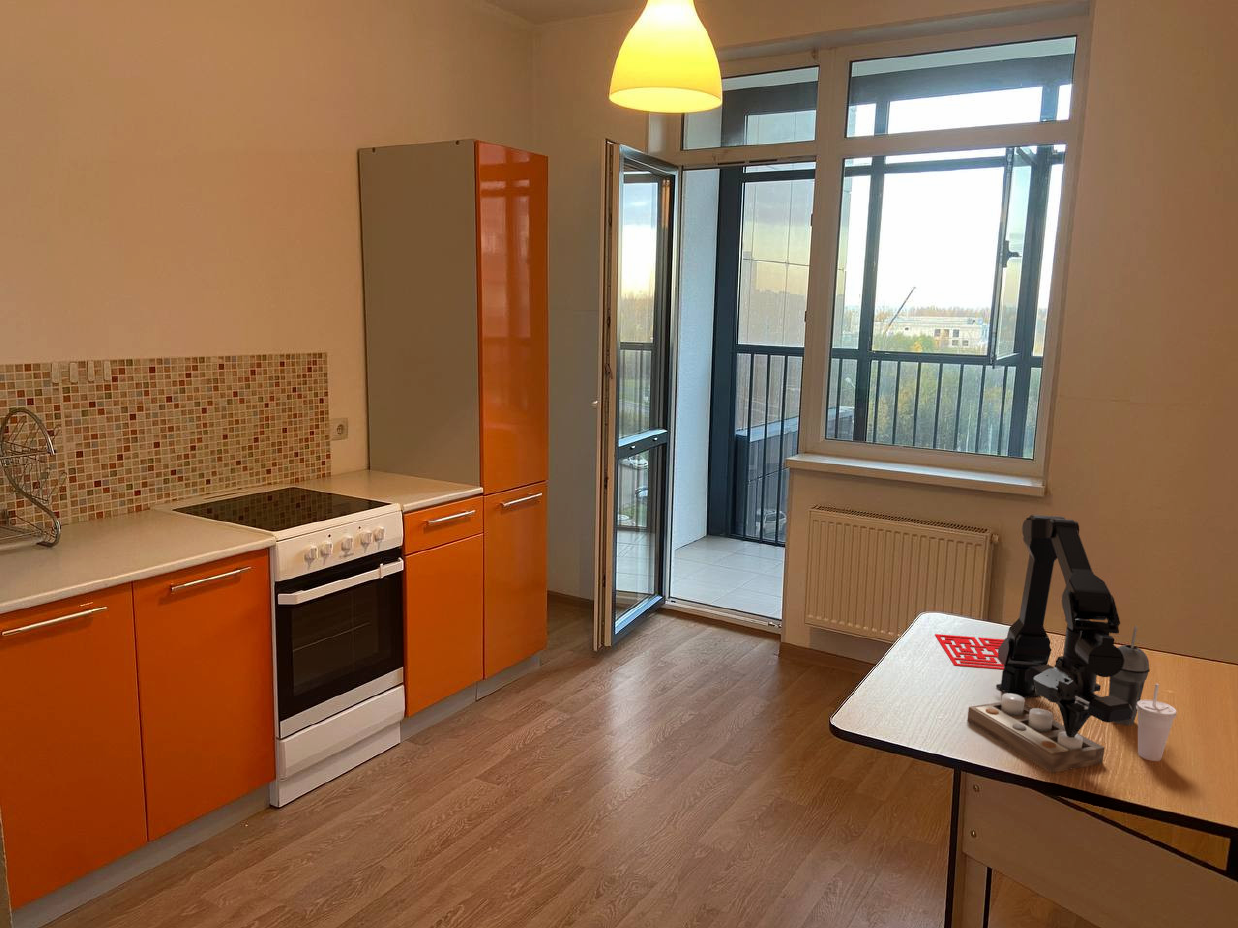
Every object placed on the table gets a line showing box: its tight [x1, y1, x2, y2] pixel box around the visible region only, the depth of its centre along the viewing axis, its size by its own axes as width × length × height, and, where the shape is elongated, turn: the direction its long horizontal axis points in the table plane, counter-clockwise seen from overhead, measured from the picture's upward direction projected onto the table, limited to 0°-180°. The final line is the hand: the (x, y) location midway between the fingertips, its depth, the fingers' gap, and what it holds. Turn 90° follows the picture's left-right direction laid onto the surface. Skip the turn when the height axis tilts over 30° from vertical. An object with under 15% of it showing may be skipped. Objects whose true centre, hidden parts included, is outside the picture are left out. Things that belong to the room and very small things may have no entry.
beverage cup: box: [1108, 625, 1151, 726], centre depth 181 cm, size 7×7×20 cm
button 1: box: [1001, 692, 1026, 716], centre depth 178 cm, size 4×4×3 cm
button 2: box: [1057, 731, 1083, 750], centre depth 165 cm, size 4×4×3 cm
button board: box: [966, 701, 1105, 774], centre depth 171 cm, size 12×21×3 cm, turn 21°
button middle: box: [1028, 707, 1054, 732], centre depth 172 cm, size 4×4×3 cm
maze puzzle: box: [934, 633, 1005, 671], centre depth 216 cm, size 20×20×1 cm
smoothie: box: [1136, 683, 1178, 762], centre depth 166 cm, size 6×6×14 cm
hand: (1070, 736), depth 165 cm, fingers closed, pressing on button 2
